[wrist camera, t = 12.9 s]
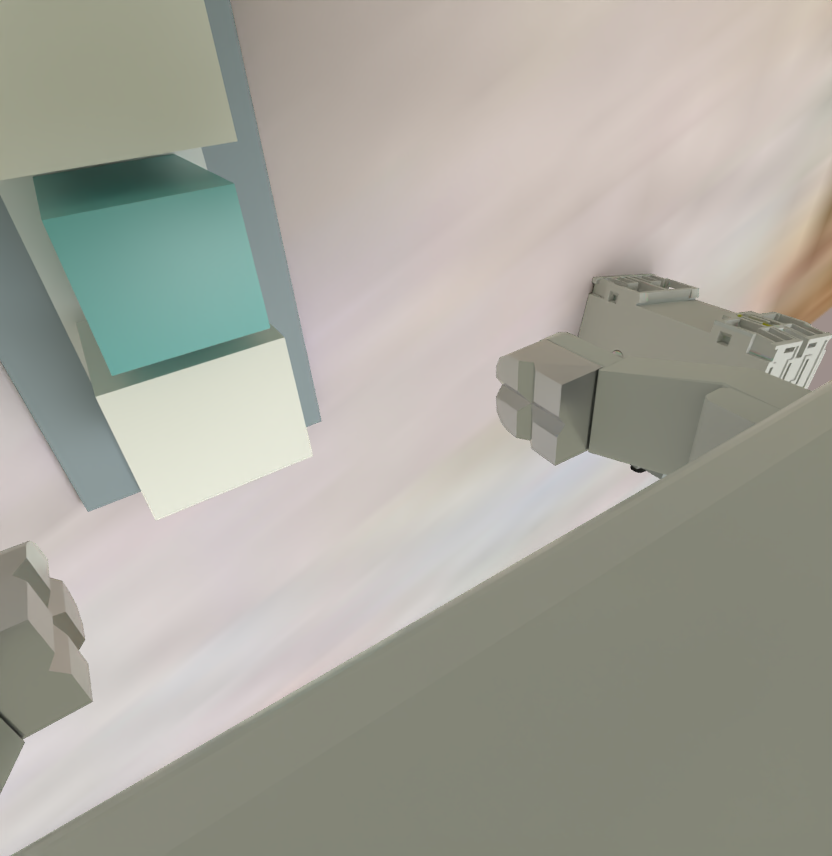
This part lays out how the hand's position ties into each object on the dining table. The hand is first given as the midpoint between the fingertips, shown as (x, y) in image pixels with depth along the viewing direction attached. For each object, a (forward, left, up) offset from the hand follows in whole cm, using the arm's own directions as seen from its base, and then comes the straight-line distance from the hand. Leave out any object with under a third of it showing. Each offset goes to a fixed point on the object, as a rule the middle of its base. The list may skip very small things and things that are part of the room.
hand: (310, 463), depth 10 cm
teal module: (0, 0, -21) cm, 21 cm away
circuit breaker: (+19, +34, -23) cm, 45 cm away
